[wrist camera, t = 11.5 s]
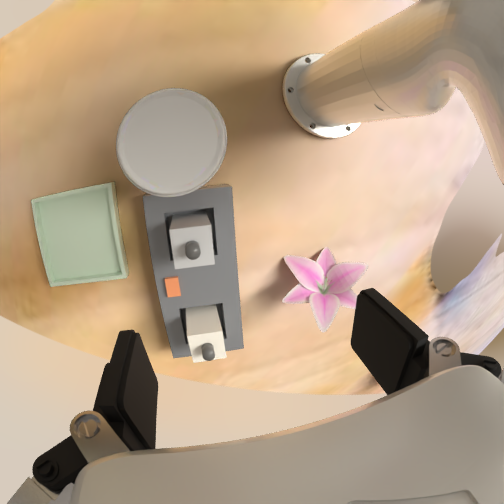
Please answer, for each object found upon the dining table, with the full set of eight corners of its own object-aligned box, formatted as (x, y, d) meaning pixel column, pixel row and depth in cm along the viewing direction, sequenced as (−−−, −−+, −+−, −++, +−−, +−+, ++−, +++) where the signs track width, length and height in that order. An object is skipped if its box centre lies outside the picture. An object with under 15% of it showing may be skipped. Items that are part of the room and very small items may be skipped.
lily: (355, 256, 43) (380, 246, 33) (344, 329, 41) (367, 337, 32) (283, 243, 43) (291, 229, 34) (270, 318, 42) (275, 325, 32)
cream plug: (214, 298, 38) (224, 339, 29) (217, 322, 39) (228, 366, 30) (185, 302, 37) (187, 344, 28) (190, 326, 38) (194, 371, 29)
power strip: (146, 193, 32) (141, 196, 28) (227, 184, 34) (232, 186, 30) (173, 343, 39) (173, 360, 35) (238, 334, 41) (244, 350, 37)
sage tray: (114, 181, 30) (111, 182, 29) (129, 272, 34) (126, 278, 33) (37, 198, 28) (31, 199, 26) (55, 281, 32) (50, 286, 30)
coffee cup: (142, 191, 32) (120, 206, 21) (135, 117, 29) (111, 95, 17) (216, 181, 33) (232, 190, 22) (211, 108, 30) (224, 81, 19)
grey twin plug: (205, 210, 34) (212, 228, 25) (208, 242, 35) (216, 270, 26) (172, 214, 33) (168, 233, 24) (176, 246, 34) (174, 275, 25)
